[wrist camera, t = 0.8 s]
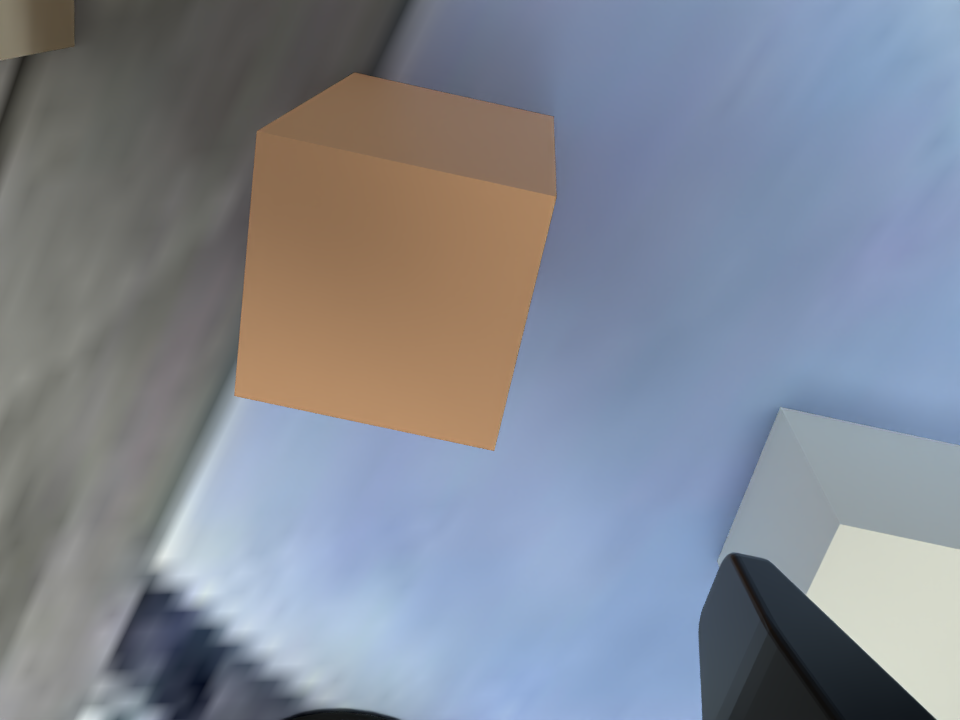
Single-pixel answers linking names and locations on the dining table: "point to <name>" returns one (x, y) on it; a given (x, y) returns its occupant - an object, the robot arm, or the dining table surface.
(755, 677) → the robot arm
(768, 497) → the off-white cube
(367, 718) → the aerosol can
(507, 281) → the brown block
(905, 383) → the dining table surface
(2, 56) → the birch cube
